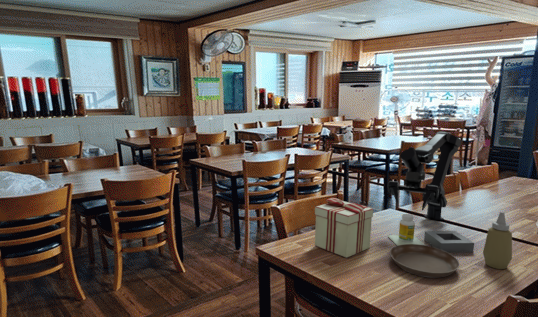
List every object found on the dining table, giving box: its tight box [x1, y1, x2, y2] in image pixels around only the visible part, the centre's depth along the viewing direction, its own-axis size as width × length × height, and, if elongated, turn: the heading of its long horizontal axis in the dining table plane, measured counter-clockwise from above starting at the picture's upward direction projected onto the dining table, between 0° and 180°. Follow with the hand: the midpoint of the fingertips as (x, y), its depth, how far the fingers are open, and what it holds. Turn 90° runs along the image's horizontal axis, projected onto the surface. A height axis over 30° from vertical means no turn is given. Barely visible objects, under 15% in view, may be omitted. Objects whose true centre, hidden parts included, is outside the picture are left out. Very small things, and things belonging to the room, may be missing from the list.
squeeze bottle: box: [482, 211, 513, 270], centre depth 117 cm, size 8×8×18 cm
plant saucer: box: [389, 244, 460, 279], centre depth 118 cm, size 21×21×3 cm
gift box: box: [314, 197, 374, 259], centre depth 132 cm, size 17×18×17 cm
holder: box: [423, 230, 475, 254], centre depth 134 cm, size 12×12×4 cm
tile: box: [387, 234, 425, 246], centre depth 138 cm, size 10×10×1 cm
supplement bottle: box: [398, 213, 416, 242], centre depth 137 cm, size 5×5×10 cm
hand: (409, 208), depth 140 cm, fingers open, 9 cm apart
